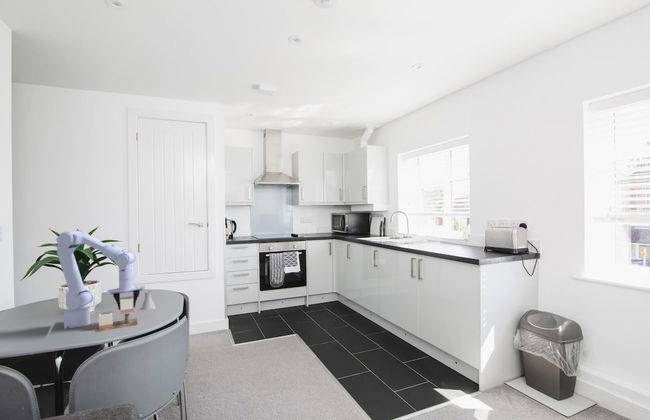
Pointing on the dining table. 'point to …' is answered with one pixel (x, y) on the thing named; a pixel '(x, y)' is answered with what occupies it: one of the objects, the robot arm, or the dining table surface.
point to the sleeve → (126, 304)
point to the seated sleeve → (105, 320)
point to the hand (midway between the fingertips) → (126, 308)
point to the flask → (148, 301)
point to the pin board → (120, 324)
